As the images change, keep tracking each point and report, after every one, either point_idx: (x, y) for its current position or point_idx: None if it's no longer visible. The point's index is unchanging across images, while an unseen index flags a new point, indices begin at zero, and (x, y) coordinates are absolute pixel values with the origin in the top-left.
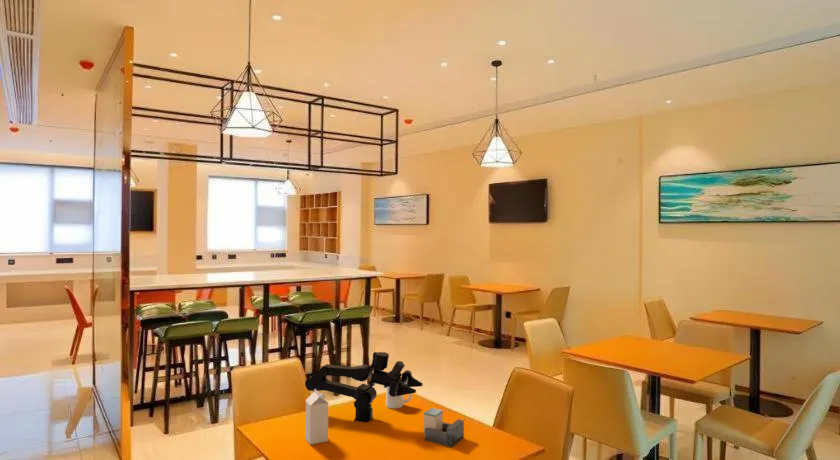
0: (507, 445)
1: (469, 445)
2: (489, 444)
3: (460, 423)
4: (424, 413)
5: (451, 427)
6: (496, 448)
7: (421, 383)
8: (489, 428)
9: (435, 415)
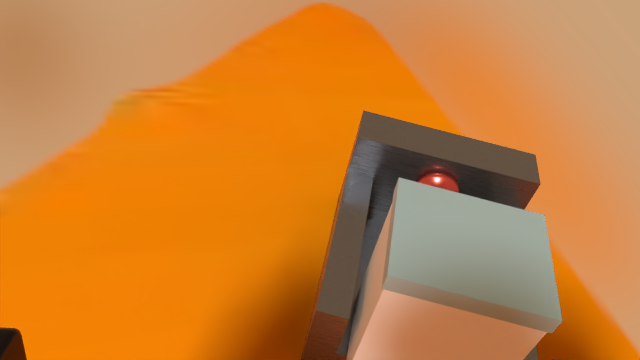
0: (339, 58)
1: None
2: (361, 104)
3: (415, 127)
4: (556, 320)
5: (519, 161)
6: (388, 86)
7: (6, 348)
8: (156, 99)
9: (542, 217)
